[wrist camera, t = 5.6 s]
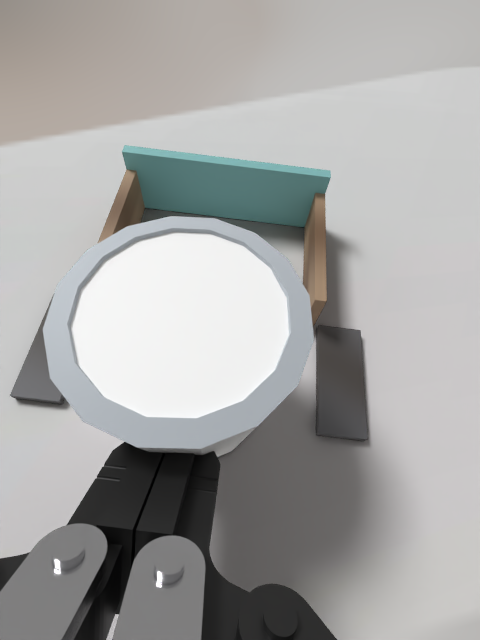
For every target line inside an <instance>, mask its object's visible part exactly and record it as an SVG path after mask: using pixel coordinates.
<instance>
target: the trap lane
mask: <svg viewBox="0 0 480 640" xmlns="http://www.w3.org/2000/svg"><path fill="white" fill-rule="evenodd" d="M144 210H145V205H144V201H143V197H142V192H141V188H140V184H139V179H138V175H137V171H136V170H128V169H127V170H126V172H125V175H124V178H123V180H122V183H121V185H120V188H119V190H118V193H117V195H116V198H115V200H114V203H113V205H112V208H111V210H110V213H109V215H108V218H107V221H106V223H105V226H104V228H103V231H102V233H101V236H100V238H99V241H98V243H99V242H101V241H103V240H105V239H106V238H108V237H110V236H111V235H113V234H115V233H117V232H118V231H120V230H122V229H124V228H125V227H127V226H131V225H135V224H139V223H140V222H141V219H142V216H143V213H144ZM98 243H97V244H98ZM303 285H304V287H305V289H306V290H307V292H308V294H309V295H310V305H311V314H312V324H313V326H314V324H315V323H316V321H317V319H318V317H319V315H320V313H321V311H322V309H323V307H324V306H325V304H326V302H327V289H326V224H325V194H321V193H315V195H314V199H313V202H312V205H311V208H310V211H309V215H308V218H307V221H306V224H305V227H304V268H303ZM53 296H54V295H53ZM52 299H53V297H52ZM51 302H52V300H51ZM51 302H50V304H49V306H48V309H47V311H46V313H45V316H44V318H43V320H42V323H41V325H40V327H39V329H38V332H37V334H36V336H35V339H34V341H33V343H32V346H31V348H30V350H29V353H28V355H27V357H26V359H25V362H24V364H23V366H22V369H21V371H20V373H19V376H18V378H17V380H16V382H15V385H14V387H13V389H12V392H11V394H10V396H12V397H13V398H16V399H24V400H33V401H41V402H49V403H57V404H63V402H64V399H65V397H64V396H63V395H62V393H61V392H60V391H59V389H58V388H57V387H56V385H55V384H54V383H53V382H52V380H51V379H50V375H49V368H48V362H47V355H46V348H45V342H44V335H43V327H44V324H45V321H46V318H47V315H48V311H49V308H50V305H51ZM316 435H319V436H327V437H335V438H343V439H351V440H359V441H365V440H367V439H368V435H367V420H366V405H365V391H364V376H363V361H362V346H361V331H360V330H354V329H346V328H338V327H330V326H322V325H318V327H317V329H316Z"/></svg>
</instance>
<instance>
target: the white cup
mask: <svg viewBox="0 0 480 640" xmlns="http://www.w3.org/2000/svg"><path fill="white" fill-rule="evenodd" d="M43 335H44V342H45V348H46V355H47V362H48V368H49V375H50V379H51V380H52V382H53V383H54V384H55V385H56V387H57V388H58V389H59V391H60V392H61V393H62V395H63V396H64V397H65V399H66V400H67V401H68V403H69V404H70V405H71V407H72V408H73V409H74V410H75V412H76V413H77V414H78V416H79V417H80V418H81V420H82V421H83V422H85V423H87V424H89V425H91V426H93V427H96V428H98V429H100V430H102V431H104V432H106V433H108V434H110V435H112V436H114V437H116V438H118V439H120V440H123V441H125V442H127V443H129V444H131V445H133V446H135V447H137V448H140V449H143V450H145V451H148V452H163V453H166V452H168V453H194V454H195V455H204V454H207V453H209V452H212V451H215V453H216V456H217V457H219V456H222V455H224V454H226V453H229V452H231V451H232V450H233V449H234V448H235V447H236V446H238V445H239V444H240V443H241V442H242V441H243V440H244V439H245V438H246V437H247V436H248V435H249V434H250V433H251V432H252V431H253V430H254V429H255V428H256V427H257V426H258V425H259V424H260V423H261V422H262V421H263V420H264V419H265V418H266V417H267V416H268V415H269V414H270V413H271V412H272V411H273V410H274V409H275V408H276V407H277V406H278V405H279V404H280V403H281V402H282V401H283V400H284V399H285V398H286V397H287V396H288V395H289V394H290V393H291V392H292V391H293V390H294V389H295V388H296V387H297V386H298V383H299V380H300V378H301V375H302V372H303V369H304V366H305V364H306V361H307V358H308V355H309V352H310V350H311V347H312V344H313V341H314V334H313V324H312V314H311V305H310V295H309V294H308V292H307V290H306V289H305V287H304V285H303V283H302V282H301V280H300V278H299V277H298V275H297V273H296V271H295V270H294V268H293V266H292V265H291V263H290V261H289V259H288V258H286V257H285V256H284V255H283V254H281V253H280V252H279V251H278V250H276V249H275V248H274V247H273V246H271V245H270V244H269V243H267V242H266V241H265V240H264V239H262V238H261V237H260V236H259V235H257V234H256V233H254V232H252V231H249V230H246V229H243V228H240V227H238V226H235V225H232V224H229V223H227V222H224V221H221V220H218V219H215V218H199V217H180V216H169V217H165V218H161V219H156V220H152V221H148V222H144V223H139V224H135V225H131V226H127V227H125V228H124V229H122V230H120V231H118V232H117V233H115V234H113V235H111V236H110V237H108V238H106V239H105V240H103V241H101V242H99V243H98V244H96V245H94V246H93V247H91V248H89V249H87V251H86V252H85V253H84V254H83V255H82V256H81V258H80V259H79V260H78V261H77V262H76V263H75V265H74V266H73V267H72V268H71V269H70V270H69V272H68V273H67V274H66V275H65V276H64V277H63V279H62V280H61V281H60V282H59V283H58V284H57V287H56V290H55V293H54V296H53V299H52V302H51V305H50V308H49V311H48V315H47V318H46V321H45V324H44V327H43Z"/></svg>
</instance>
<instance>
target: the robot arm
mask: <svg viewBox="0 0 480 640" xmlns="http://www.w3.org/2000/svg"><path fill="white" fill-rule="evenodd" d="M219 471H220V463H219V460H218V458H217V456H216V453H215V451H212V452H209V453H207V454H204V455H195V454H194V453H168V452H166V453H163V452H148V451H145V450H143V449H140V448H137V447H135V446H133V445H131V444H129V443H127V442H124V443H122V444H121V445H120V446H118V447H117V448H116V449H114V450H113V451H112V453H111V454H110V456H109V458H108V459H107V461H106V462H105V464H104V467H102V469H101V471H100V472H99V474H98V475H97V479H95V480H94V482H93V483H92V485H91V487H90V488H89V490H88V492H87V493H86V495H85V496H84V498H83V500H82V501H81V503H80V505H79V506H78V508H77V509H76V511H75V513H74V514H73V516H72V517H71V519H70V521H69V522H68V524H67V525H66V526H63V527H61V528H58V529H56V530H54V531H52V532H51V533H49V534H48V535H46V536H45V537H44V538H43V539H41V540H40V541H39V542H38V543H37V545H36V546H35V547H34V548H33V549H32V551H31V552H29V553H26V554H23V555H18V556H13V557H7V558H1V559H0V640H106V638H107V636H108V633H109V630H110V627H111V624H112V621H113V619H114V616H115V614H119V617H118V620H117V624H116V628H115V631H114V635H113V639H112V640H337V639H336V638H335V637H334V635H333V634H332V633H331V632H330V630H329V629H328V628H327V627H326V626H325V624H324V623H323V622H322V621H321V619H320V618H319V617H318V616H317V614H316V613H315V612H314V611H313V609H312V608H311V607H310V606H309V604H308V603H307V602H306V601H305V600H304V599H303V598H302V597H301V596H300V595H299V594H298V593H297V592H295V591H293V590H292V589H290V588H288V587H285V586H282V585H278V584H265V585H262V586H259V587H257V588H255V589H254V590H252V591H251V592H250V593H249V592H247V591H245V590H243V589H241V588H239V587H237V586H235V585H233V584H232V583H230V582H228V581H227V580H226V579H225V578H223V577H222V576H221V575H220V573H219V572H218V571H217V570H216V568H215V567H214V565H213V563H212V561H211V557H210V552H209V546H210V539H211V532H212V524H213V517H214V510H215V502H216V494H217V486H218V478H219Z"/></svg>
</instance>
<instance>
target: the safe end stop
mask: <svg viewBox="0 0 480 640" xmlns="http://www.w3.org/2000/svg"><path fill="white" fill-rule="evenodd" d="M122 153H123V157H124V161H125V165H126V169H128V170H136V171H137V175H138V179H139V184H140V188H141V192H142V197H143V201H144V205H145V208H151V209H159V210H167V211H176V212H184V213H192V214H200V215H208V216H216V217H224V218H232V219H240V220H248V221H256V222H265V223H273V224H281V225H289V226H297V227H305V224H306V221H307V218H308V215H309V211H310V208H311V205H312V202H313V199H314V195H315V193H321V194H325V192H326V189H327V187H328V184H329V181H330V178H331V174H330V171H329V170H320V169H312V168H304V167H296V166H288V165H280V164H272V163H264V162H256V161H248V160H240V159H232V158H224V157H216V156H207V155H199V154H191V153H183V152H175V151H167V150H159V149H151V148H143V147H135V146H127V145H125V146H124V148H123V151H122Z"/></svg>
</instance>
